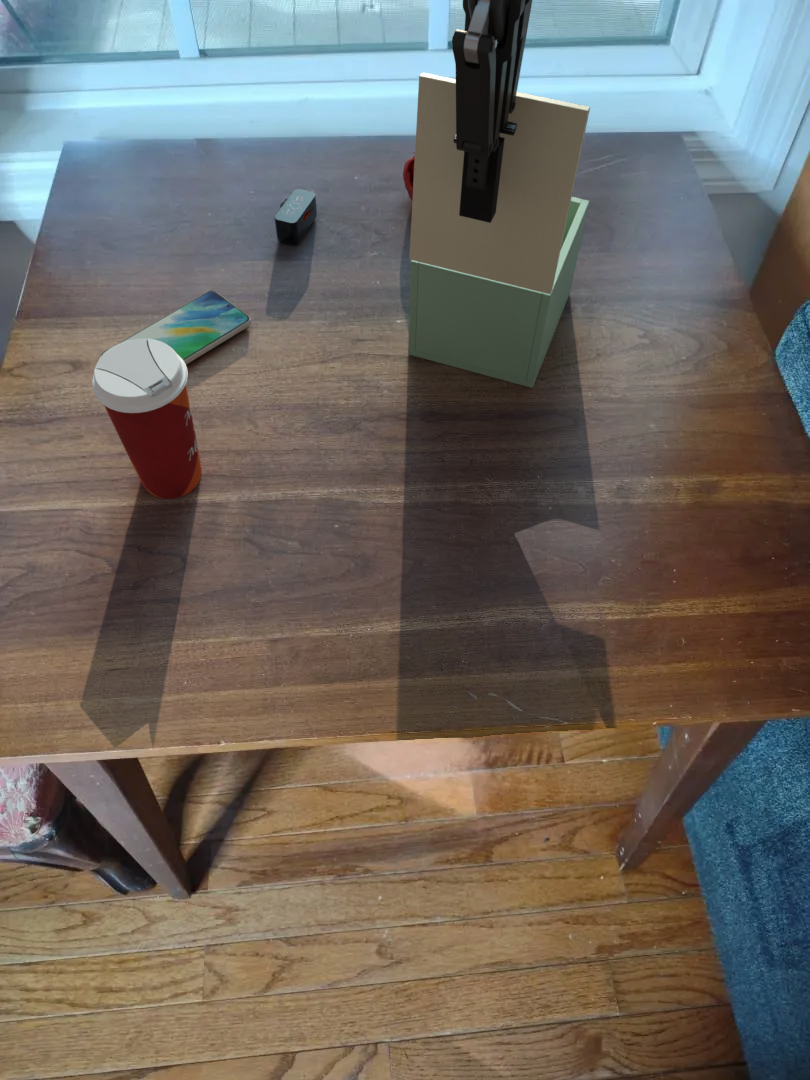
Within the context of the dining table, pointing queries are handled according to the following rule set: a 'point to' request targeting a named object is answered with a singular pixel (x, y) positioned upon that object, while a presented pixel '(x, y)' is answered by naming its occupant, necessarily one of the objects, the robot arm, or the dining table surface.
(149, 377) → the paper cup
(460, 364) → the case
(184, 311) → the smartphone
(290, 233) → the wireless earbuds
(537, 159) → the cover
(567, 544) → the dining table surface
